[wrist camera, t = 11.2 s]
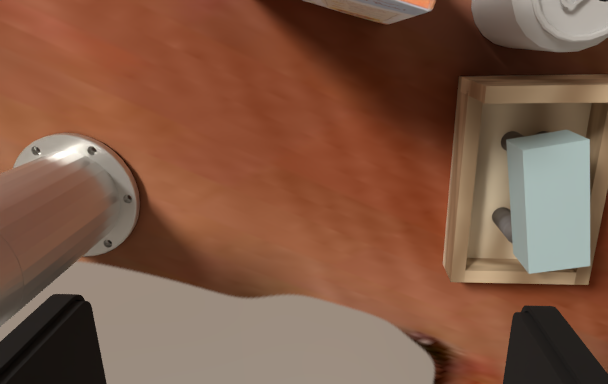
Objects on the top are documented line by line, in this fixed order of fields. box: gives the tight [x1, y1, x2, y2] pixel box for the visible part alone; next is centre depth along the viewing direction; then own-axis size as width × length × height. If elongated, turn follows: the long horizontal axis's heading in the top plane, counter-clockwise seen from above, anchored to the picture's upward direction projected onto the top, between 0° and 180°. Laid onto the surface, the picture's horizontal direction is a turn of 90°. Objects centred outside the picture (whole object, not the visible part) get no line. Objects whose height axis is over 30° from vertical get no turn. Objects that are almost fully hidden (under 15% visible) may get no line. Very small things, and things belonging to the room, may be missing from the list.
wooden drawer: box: [443, 74, 608, 285], centre depth 38 cm, size 12×18×8 cm, turn 1°
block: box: [506, 130, 590, 274], centre depth 36 cm, size 10×4×4 cm, turn 11°
